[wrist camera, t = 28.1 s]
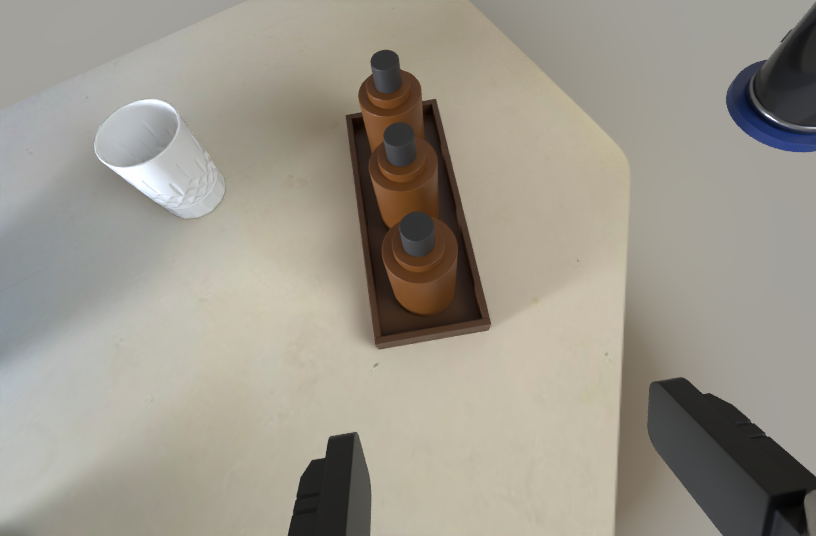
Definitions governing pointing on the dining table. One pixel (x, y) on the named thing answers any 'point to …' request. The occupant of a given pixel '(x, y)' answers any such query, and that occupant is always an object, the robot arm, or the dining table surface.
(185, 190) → the white cup
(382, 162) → the bottle mid
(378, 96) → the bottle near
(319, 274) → the dining table surface
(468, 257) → the tray
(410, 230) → the bottle
